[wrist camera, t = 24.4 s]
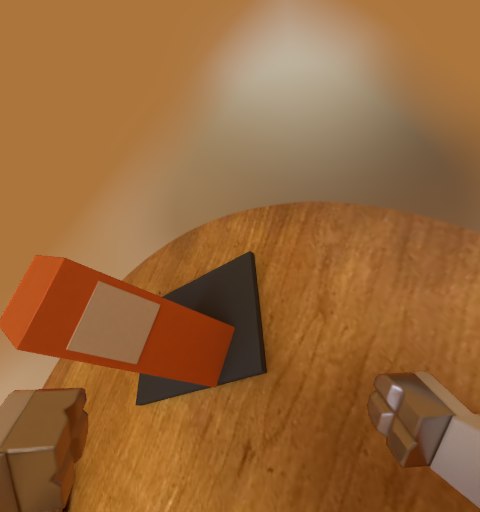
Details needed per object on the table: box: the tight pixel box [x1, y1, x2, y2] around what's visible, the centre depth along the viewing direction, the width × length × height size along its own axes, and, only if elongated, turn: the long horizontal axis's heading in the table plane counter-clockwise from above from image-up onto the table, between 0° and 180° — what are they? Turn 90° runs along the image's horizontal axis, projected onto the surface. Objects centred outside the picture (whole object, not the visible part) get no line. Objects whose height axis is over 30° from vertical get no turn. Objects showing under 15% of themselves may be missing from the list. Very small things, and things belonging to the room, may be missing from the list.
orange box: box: [0, 255, 235, 387], centre depth 20 cm, size 6×4×13 cm
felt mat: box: [136, 251, 266, 405], centre depth 26 cm, size 14×10×1 cm
